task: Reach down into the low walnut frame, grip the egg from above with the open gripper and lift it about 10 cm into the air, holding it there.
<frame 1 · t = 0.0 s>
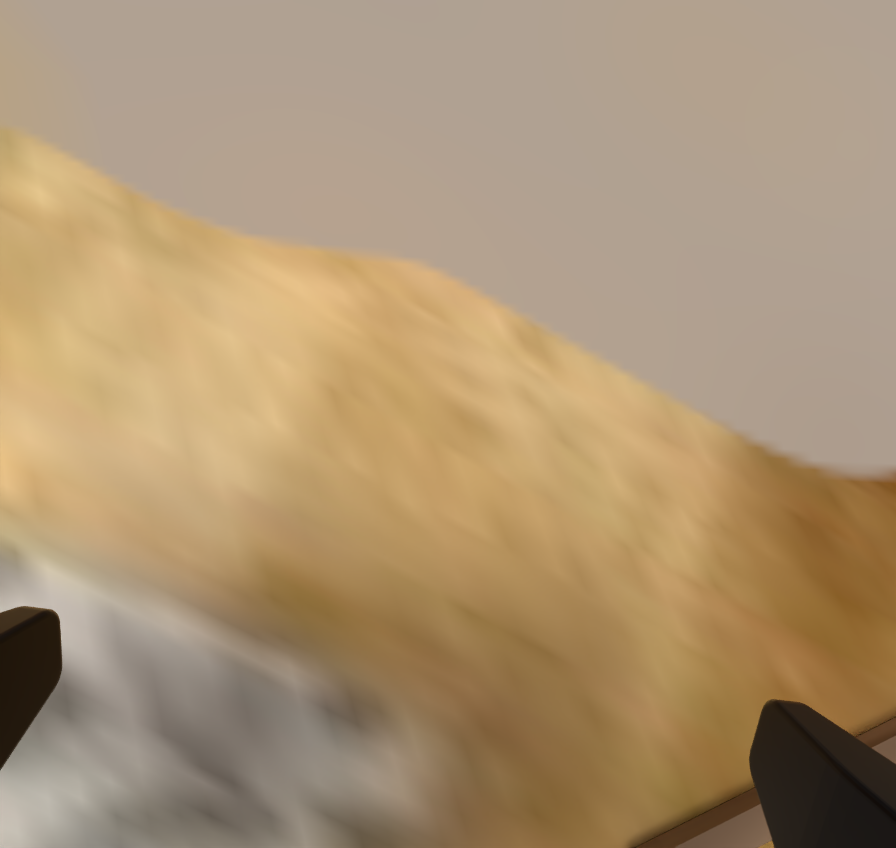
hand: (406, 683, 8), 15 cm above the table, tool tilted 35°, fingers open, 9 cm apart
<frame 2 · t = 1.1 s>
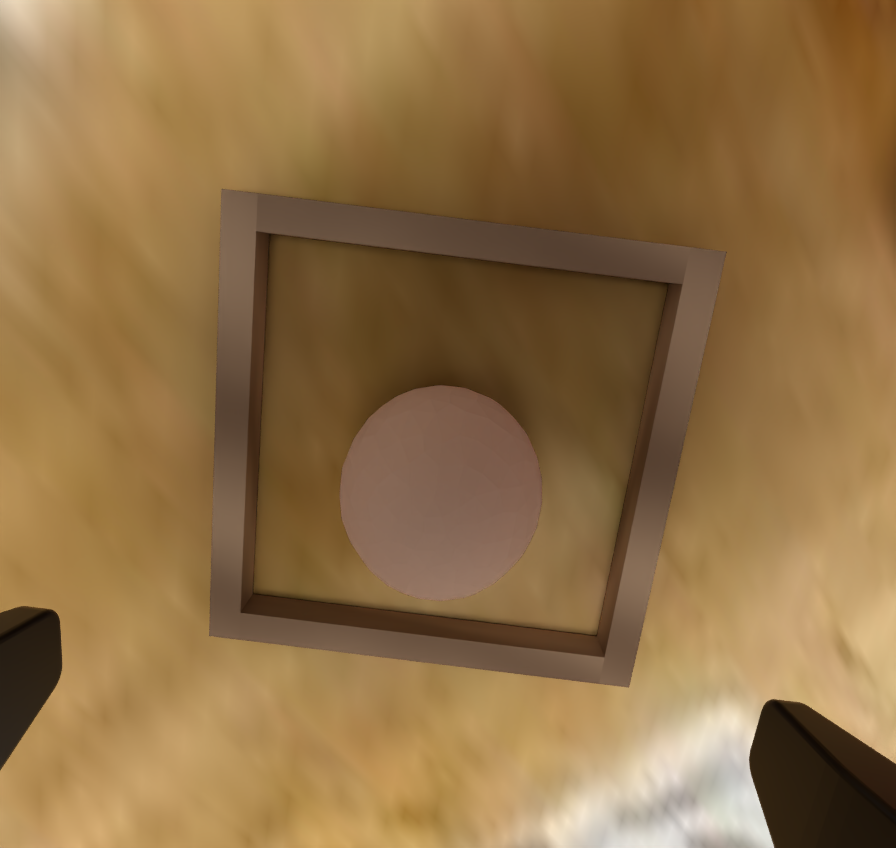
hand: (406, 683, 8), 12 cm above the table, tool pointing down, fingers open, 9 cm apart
walnut frame: (445, 450, 20), on the table
egg: (445, 448, 20), resting in walnut frame
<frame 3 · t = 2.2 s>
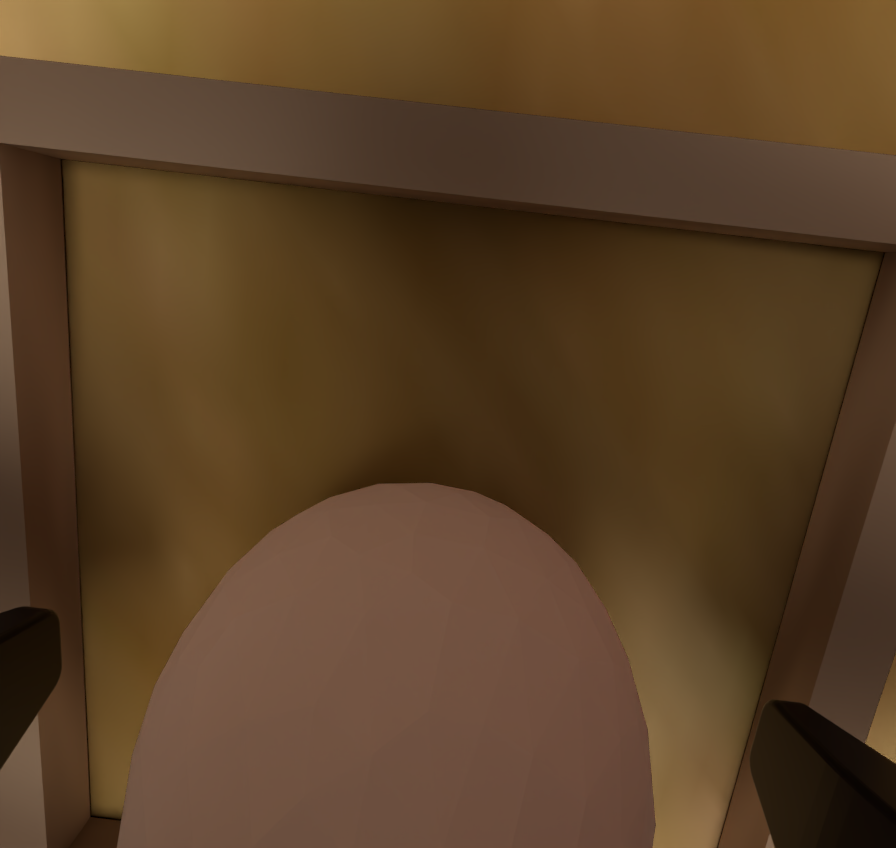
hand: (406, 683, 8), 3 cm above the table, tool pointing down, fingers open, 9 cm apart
walnut frame: (426, 578, 10), on the table
egg: (427, 571, 11), resting in walnut frame
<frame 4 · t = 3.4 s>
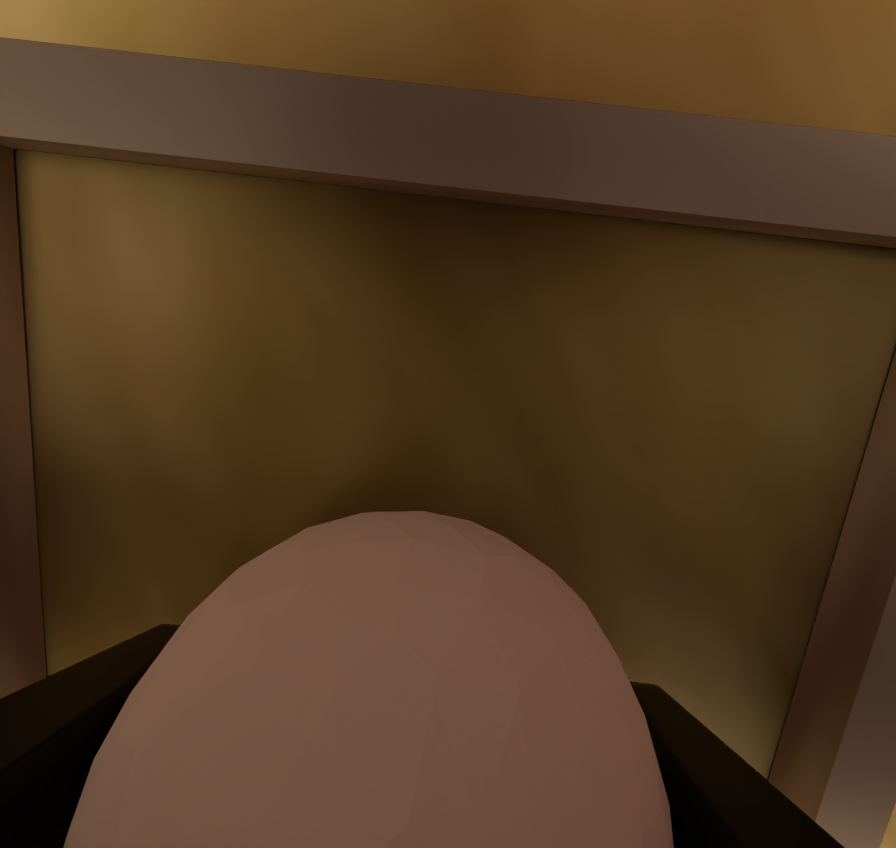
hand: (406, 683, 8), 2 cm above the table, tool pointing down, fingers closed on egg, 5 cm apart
walnut frame: (419, 606, 10), on the table
egg: (420, 599, 10), resting in walnut frame, touching gripper
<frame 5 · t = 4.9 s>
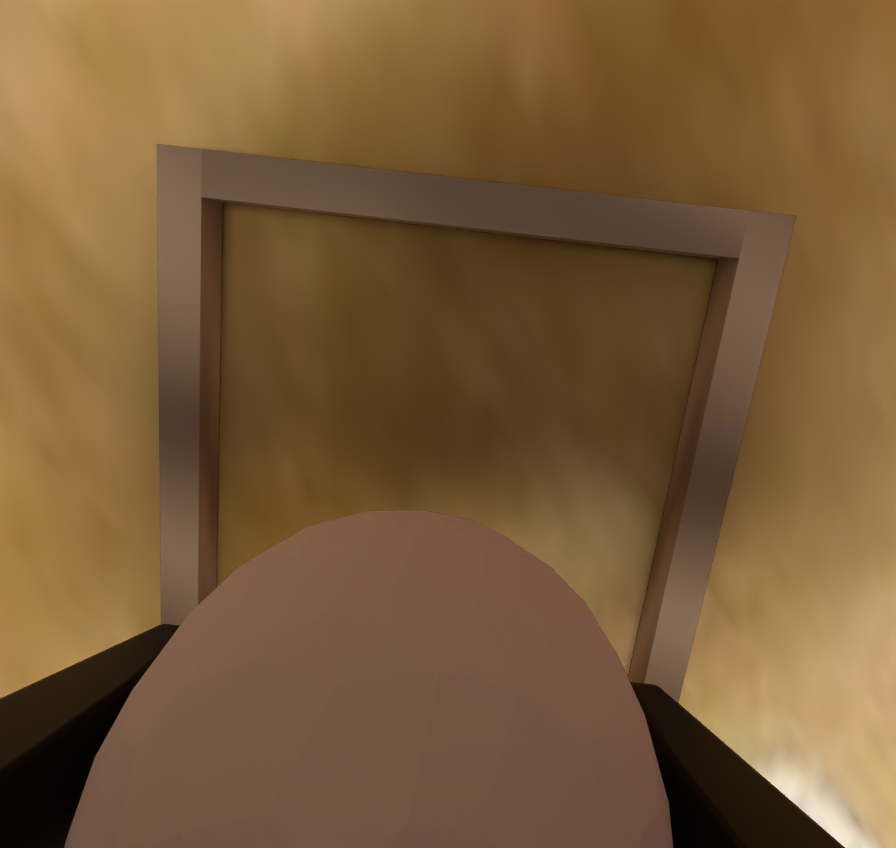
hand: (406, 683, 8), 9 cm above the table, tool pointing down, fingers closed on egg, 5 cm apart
walnut frame: (442, 465, 16), on the table
egg: (420, 598, 10), point 7 cm above the table, touching gripper
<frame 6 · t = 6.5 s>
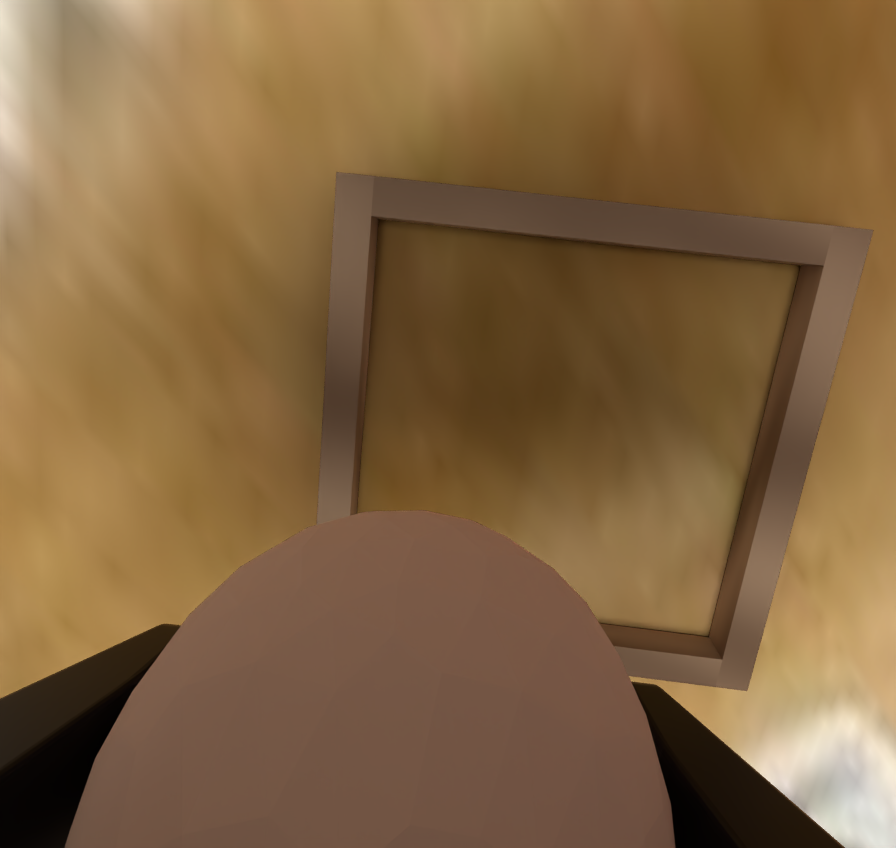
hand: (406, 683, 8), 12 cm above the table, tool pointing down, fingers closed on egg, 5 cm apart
walnut frame: (555, 443, 19), on the table
egg: (421, 598, 10), point 10 cm above the table, touching gripper
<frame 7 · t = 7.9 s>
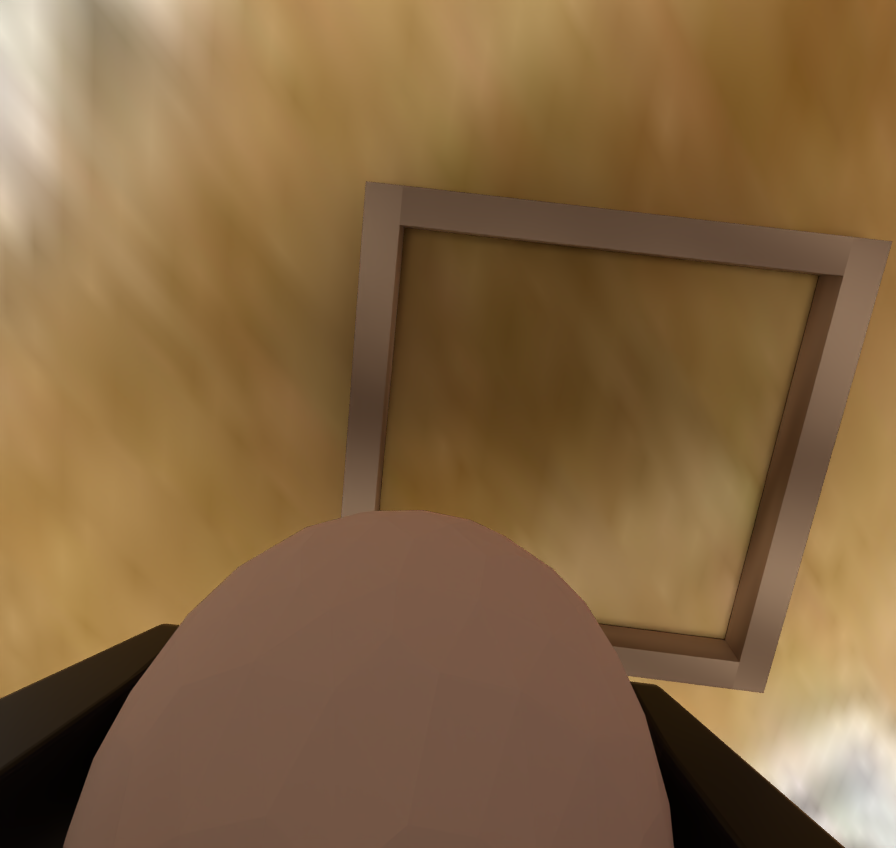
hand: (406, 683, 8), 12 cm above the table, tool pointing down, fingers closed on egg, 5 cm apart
walnut frame: (576, 448, 19), on the table
egg: (420, 598, 10), point 10 cm above the table, touching gripper
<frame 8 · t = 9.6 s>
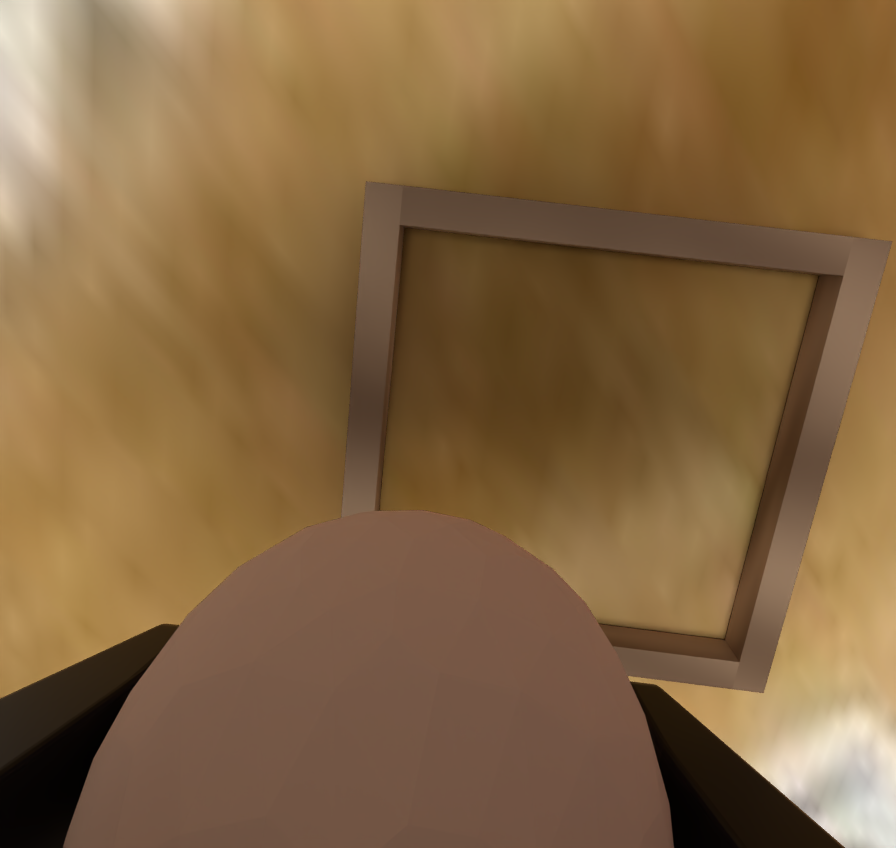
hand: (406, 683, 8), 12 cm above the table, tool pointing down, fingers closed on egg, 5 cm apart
walnut frame: (576, 448, 19), on the table
egg: (420, 598, 10), point 10 cm above the table, touching gripper
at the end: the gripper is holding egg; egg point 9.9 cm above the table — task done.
